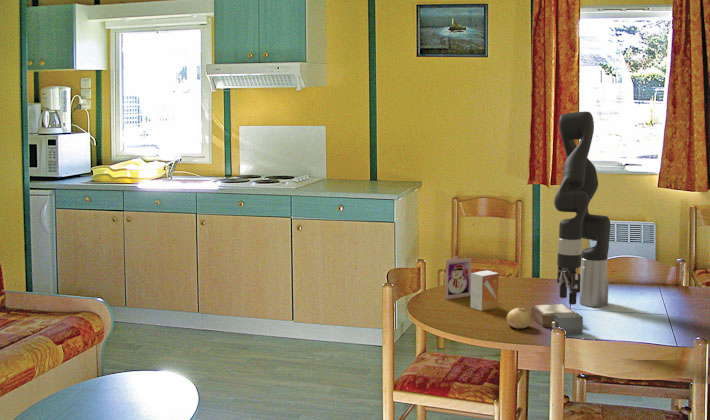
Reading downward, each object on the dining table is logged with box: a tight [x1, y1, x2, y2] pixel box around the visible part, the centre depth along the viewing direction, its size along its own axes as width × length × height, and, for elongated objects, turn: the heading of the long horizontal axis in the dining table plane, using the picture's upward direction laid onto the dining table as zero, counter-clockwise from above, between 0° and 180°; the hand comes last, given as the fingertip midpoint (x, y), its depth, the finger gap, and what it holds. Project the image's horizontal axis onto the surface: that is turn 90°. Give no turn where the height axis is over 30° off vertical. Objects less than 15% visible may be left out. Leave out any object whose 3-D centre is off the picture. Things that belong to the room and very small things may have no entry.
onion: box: [506, 306, 532, 330], centre depth 268 cm, size 8×8×7 cm
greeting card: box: [445, 255, 472, 300], centre depth 308 cm, size 11×7×15 cm, turn 115°
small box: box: [470, 269, 500, 312], centre depth 291 cm, size 8×6×13 cm
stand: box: [530, 303, 576, 328], centre depth 274 cm, size 12×12×4 cm
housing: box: [551, 312, 584, 336], centre depth 261 cm, size 9×5×6 cm, turn 96°
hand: (567, 300), depth 260 cm, fingers open, 8 cm apart
